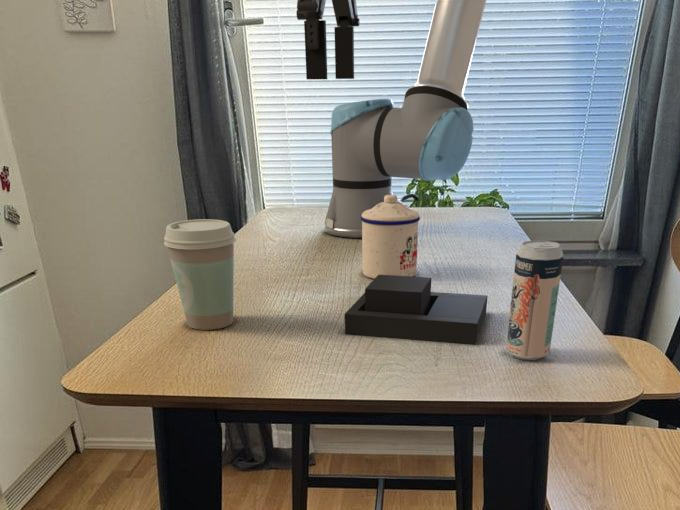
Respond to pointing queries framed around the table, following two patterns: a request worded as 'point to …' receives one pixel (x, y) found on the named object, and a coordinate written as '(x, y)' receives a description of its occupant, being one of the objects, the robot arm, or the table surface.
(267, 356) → the table surface
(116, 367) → the table surface
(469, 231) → the table surface
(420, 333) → the black rectangular tray
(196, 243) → the coffee cup
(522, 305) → the beer can
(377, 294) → the matte black cube
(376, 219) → the teacup with lid
